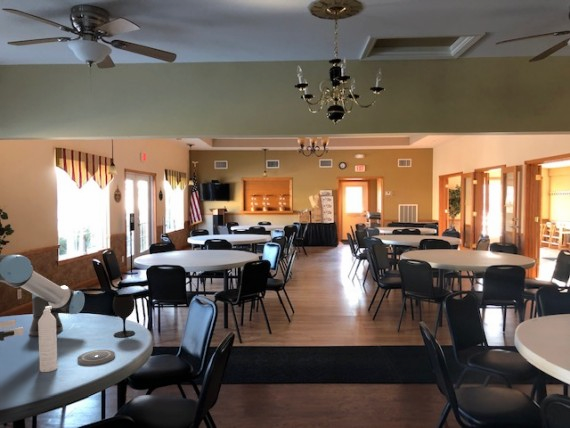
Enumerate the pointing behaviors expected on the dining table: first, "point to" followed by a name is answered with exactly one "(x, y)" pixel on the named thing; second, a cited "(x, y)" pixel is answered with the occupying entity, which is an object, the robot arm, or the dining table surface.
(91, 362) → the slate coaster
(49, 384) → the dining table surface
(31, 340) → the dining table surface
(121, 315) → the wine glass
